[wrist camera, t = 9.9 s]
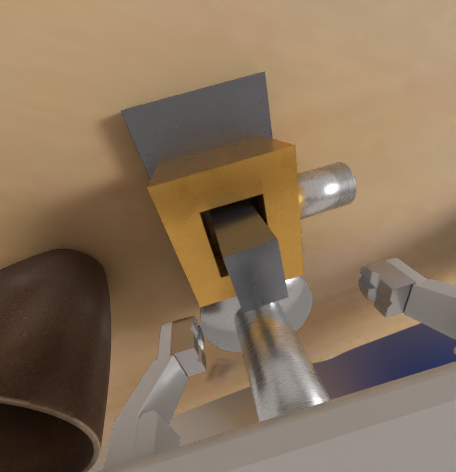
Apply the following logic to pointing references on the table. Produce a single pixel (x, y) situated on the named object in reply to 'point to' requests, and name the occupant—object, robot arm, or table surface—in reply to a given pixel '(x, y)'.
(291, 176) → the gold block fixture
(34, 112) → the table surface
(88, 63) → the table surface
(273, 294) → the grey square rod
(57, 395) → the plant pot
